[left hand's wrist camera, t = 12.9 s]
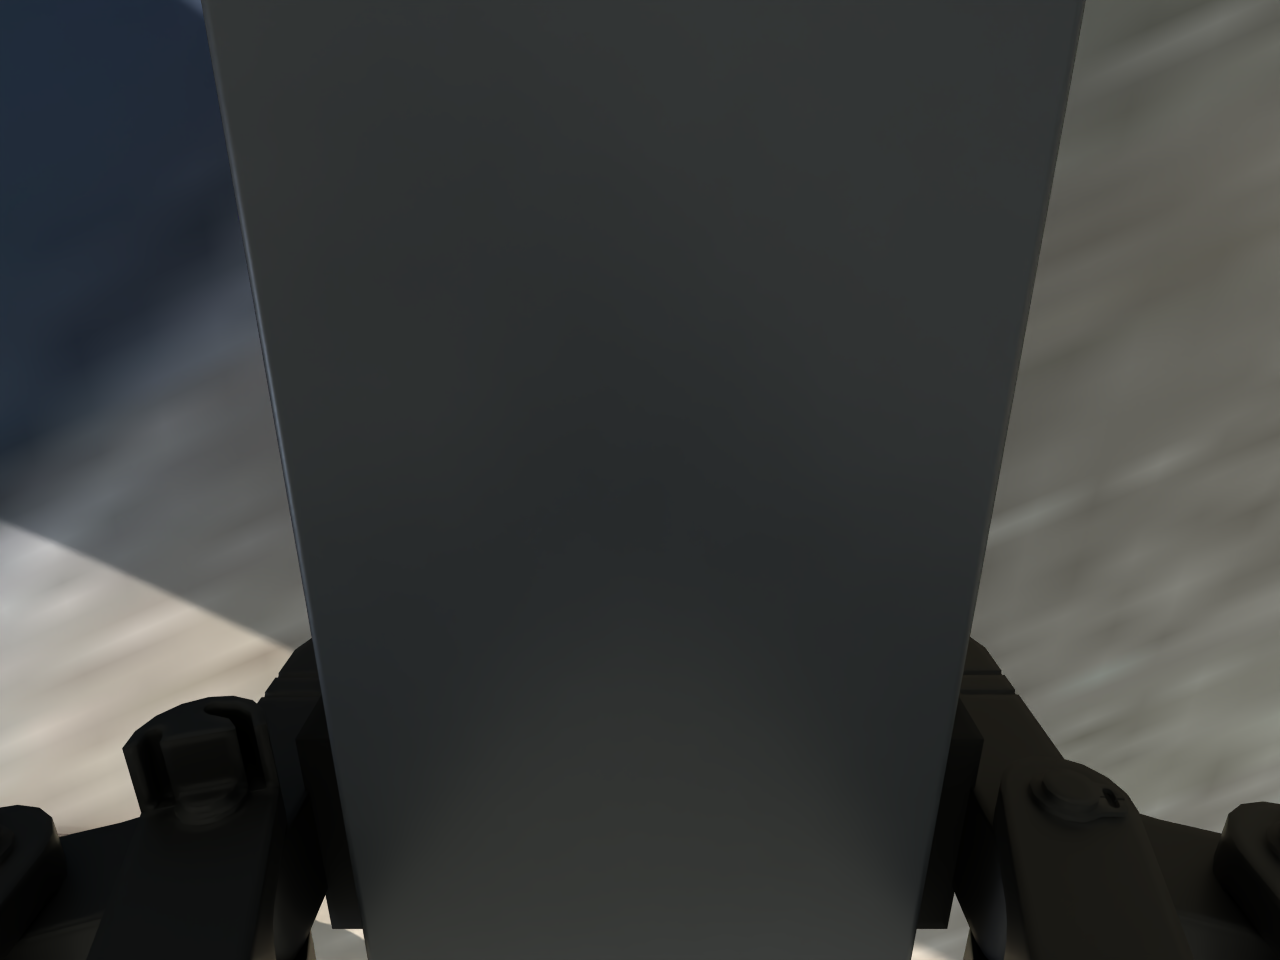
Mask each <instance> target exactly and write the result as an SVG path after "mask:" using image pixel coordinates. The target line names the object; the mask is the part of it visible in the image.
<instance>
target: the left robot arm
mask: <svg viewBox="0 0 1280 960" xmlns="http://www.w3.org/2000/svg"><path fill="white" fill-rule="evenodd" d="M122 749H123V753H124V756H125V759H126V763H127V766H128V769H129V773H130V776H131V780H132V783H133V786H134V790H135V793H136V796H137V800H138V803H139V807H140V810H141V815H140V817H138V818H135V819H132V820H128V821H125V822H122V823H118V824H113V825H109V826H104V827H100V828H96V829H91V830H87V831H83V832H78V833H74V834H70V835H65V836H61V837H59V836H58V834H57V831H56V828H55V825H54V822H53V819H52V817H51V816H49V815H48V814H47V813H46V812H44V811H43V810H42V809H40V808H38V807H30V806H22V805H14V806H8V807H1V808H0V960H316V957H315V950H314V944H313V939H312V934H311V927H312V925H313V923H314V920H315V918H316V916H317V913H318V911H319V909H320V906H321V904H322V902H323V899H324V897H325V895H326V899H327V904H328V910H329V915H330V920H331V925H332V929H363V928H362V922H361V916H360V911H359V905H358V899H357V893H356V888H355V882H354V876H353V870H352V865H351V859H350V853H349V847H348V842H347V836H346V830H345V825H344V819H343V813H342V807H341V802H340V796H339V790H338V784H337V779H336V773H335V767H334V761H333V756H332V750H331V744H330V738H329V733H328V727H327V721H326V715H325V710H324V704H323V698H322V692H321V687H320V681H319V675H318V670H317V664H316V658H315V652H314V647H313V641H312V638H311V639H310V640H308V641H307V642H306V643H304V644H303V645H301V646H300V647H298V648H297V649H296V650H295V651H294V652H293V654H292V655H291V656H290V658H289V659H288V661H287V662H286V663H285V665H284V666H283V668H282V669H281V670H280V672H279V676H278V678H275V679H274V680H273V682H272V683H271V685H270V686H269V687H268V689H267V690H266V692H265V697H261V699H260V700H259V702H258V703H255V702H254V701H253V700H249V699H245V698H241V697H236V696H221V697H207V698H203V699H200V700H196V701H192V702H188V703H184V704H181V705H179V706H177V707H174V708H172V709H170V710H168V711H166V712H164V713H161V714H159V715H157V716H155V717H154V718H153V719H151V720H150V721H149V722H147V723H146V724H144V725H143V726H142V727H140V728H139V729H138V730H136V731H135V732H134V733H133V735H132V736H131V737H130V739H129V740H128V741H127V743H126V744H125V745H124V747H123V748H122ZM954 892H955V894H956V897H957V899H958V901H959V904H960V906H961V908H962V911H963V913H964V915H965V918H966V920H967V922H968V924H969V927H970V930H969V934H968V939H967V944H966V949H965V953H964V958H963V960H1280V804H1276V803H1269V802H1255V803H1247V804H1241V805H1239V806H1238V807H1237V808H1236V809H1234V810H1233V811H1232V812H1230V813H1229V814H1228V817H1227V820H1226V823H1225V826H1224V829H1223V831H1222V834H1220V833H1216V832H1212V831H1207V830H1203V829H1199V828H1194V827H1190V826H1185V825H1181V824H1177V823H1172V822H1168V821H1164V820H1159V819H1156V818H1153V817H1149V816H1146V815H1142V814H1139V812H1138V810H1137V808H1136V807H1135V805H1134V804H1133V802H1132V801H1131V799H1130V798H1129V796H1128V795H1127V793H1125V792H1124V791H1123V790H1122V789H1121V788H1119V787H1118V786H1117V785H1116V784H1115V783H1113V782H1112V781H1111V780H1110V779H1109V778H1107V777H1106V776H1104V775H1102V774H1100V773H1098V772H1096V771H1094V770H1092V769H1090V768H1088V767H1086V766H1085V765H1083V764H1079V763H1076V762H1072V761H1069V760H1065V759H1064V758H1063V757H1062V755H1061V754H1060V752H1059V751H1058V750H1057V748H1056V747H1055V745H1054V744H1053V743H1052V741H1051V740H1050V738H1049V737H1048V736H1047V734H1046V733H1045V731H1044V730H1043V728H1042V727H1041V726H1040V724H1039V723H1038V721H1037V720H1036V719H1035V717H1034V716H1033V714H1032V713H1031V712H1030V710H1029V709H1028V707H1027V706H1026V705H1025V703H1024V702H1023V700H1022V699H1021V698H1020V696H1019V695H1016V694H1015V689H1014V688H1013V686H1012V685H1011V683H1010V682H1009V681H1008V679H1007V678H1006V676H1005V675H1002V674H1001V669H1000V668H999V667H998V665H997V664H996V662H995V661H994V660H993V658H992V657H991V655H990V654H989V652H988V651H987V650H986V648H985V647H984V646H982V645H981V644H979V643H978V642H976V641H975V640H974V639H972V638H971V637H970V638H969V643H968V649H967V654H966V660H965V665H964V671H963V676H962V682H961V687H960V693H959V698H958V704H957V709H956V715H955V720H954V726H953V731H952V737H951V742H950V748H949V753H948V759H947V764H946V770H945V775H944V781H943V786H942V792H941V797H940V803H939V808H938V814H937V819H936V825H935V830H934V836H933V841H932V847H931V852H930V858H929V863H928V869H927V874H926V880H925V885H924V891H923V896H922V902H921V907H920V913H919V918H918V923H917V929H947V927H948V922H949V917H950V912H951V907H952V902H953V897H954Z"/></svg>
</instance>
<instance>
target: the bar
mask: <svg viewBox="0 0 1280 960" xmlns="http://www.w3.org/2000/svg"><path fill="white" fill-rule="evenodd" d="M1085 1H1086V0H201V4H202V9H203V15H204V21H205V27H206V32H207V38H208V44H209V49H210V55H211V61H212V67H213V72H214V78H215V84H216V90H217V95H218V101H219V107H220V113H221V118H222V124H223V130H224V136H225V141H226V147H227V153H228V159H229V164H230V170H231V176H232V182H233V187H234V193H235V199H236V204H237V210H238V216H239V222H240V227H241V233H242V239H243V245H244V250H245V256H246V262H247V268H248V273H249V279H250V285H251V291H252V296H253V302H254V308H255V314H256V319H257V325H258V331H259V337H260V342H261V348H262V354H263V359H264V365H265V371H266V377H267V382H268V388H269V394H270V400H271V405H272V411H273V417H274V423H275V428H276V434H277V440H278V446H279V451H280V457H281V463H282V469H283V474H284V480H285V486H286V492H287V497H288V503H289V509H290V515H291V520H292V526H293V532H294V537H295V543H296V549H297V555H298V560H299V566H300V572H301V578H302V583H303V589H304V595H305V601H306V606H307V612H308V618H309V624H310V629H311V635H312V641H313V647H314V652H315V658H316V664H317V670H318V675H319V681H320V687H321V692H322V698H323V704H324V710H325V715H326V721H327V727H328V733H329V738H330V744H331V750H332V756H333V761H334V767H335V773H336V779H337V784H338V790H339V796H340V802H341V807H342V813H343V819H344V825H345V830H346V836H347V842H348V847H349V853H350V859H351V865H352V870H353V876H354V882H355V888H356V893H357V899H358V905H359V911H360V916H361V922H362V928H363V934H364V939H365V945H366V951H367V957H368V960H911V956H912V951H913V945H914V940H915V934H916V929H917V923H918V918H919V913H920V907H921V902H922V896H923V891H924V885H925V880H926V874H927V869H928V863H929V858H930V852H931V847H932V841H933V836H934V830H935V825H936V819H937V814H938V808H939V803H940V797H941V792H942V786H943V781H944V775H945V770H946V764H947V759H948V753H949V748H950V742H951V737H952V731H953V726H954V720H955V715H956V709H957V704H958V698H959V693H960V687H961V682H962V676H963V671H964V665H965V660H966V654H967V649H968V643H969V638H970V632H971V627H972V621H973V616H974V610H975V605H976V599H977V594H978V588H979V583H980V578H981V572H982V567H983V561H984V556H985V550H986V545H987V539H988V534H989V528H990V523H991V517H992V512H993V506H994V501H995V495H996V490H997V484H998V479H999V473H1000V468H1001V462H1002V457H1003V451H1004V446H1005V440H1006V435H1007V429H1008V424H1009V418H1010V413H1011V407H1012V402H1013V396H1014V391H1015V385H1016V380H1017V374H1018V369H1019V363H1020V358H1021V352H1022V347H1023V341H1024V336H1025V330H1026V325H1027V319H1028V314H1029V308H1030V303H1031V297H1032V292H1033V286H1034V281H1035V275H1036V270H1037V264H1038V259H1039V253H1040V248H1041V242H1042V237H1043V231H1044V226H1045V221H1046V215H1047V210H1048V204H1049V199H1050V193H1051V188H1052V182H1053V177H1054V171H1055V166H1056V160H1057V155H1058V149H1059V144H1060V138H1061V133H1062V127H1063V122H1064V116H1065V111H1066V105H1067V100H1068V94H1069V89H1070V83H1071V78H1072V72H1073V67H1074V61H1075V56H1076V50H1077V45H1078V39H1079V34H1080V28H1081V23H1082V17H1083V12H1084V6H1085Z"/></svg>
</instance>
